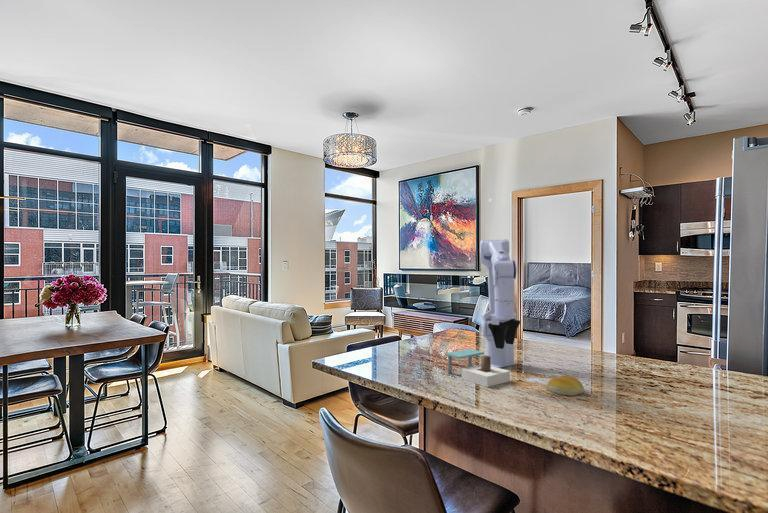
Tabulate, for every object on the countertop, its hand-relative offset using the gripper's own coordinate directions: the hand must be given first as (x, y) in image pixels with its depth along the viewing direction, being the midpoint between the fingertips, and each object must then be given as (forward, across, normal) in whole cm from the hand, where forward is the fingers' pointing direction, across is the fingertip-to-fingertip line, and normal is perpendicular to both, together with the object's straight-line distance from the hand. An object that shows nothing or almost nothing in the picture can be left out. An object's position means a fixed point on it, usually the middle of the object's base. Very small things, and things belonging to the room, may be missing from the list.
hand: (504, 346), depth 118 cm
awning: (+10, 0, -14) cm, 17 cm away
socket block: (+10, +3, -5) cm, 12 cm away
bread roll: (+11, -2, +16) cm, 20 cm away
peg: (+10, +3, -5) cm, 12 cm away
